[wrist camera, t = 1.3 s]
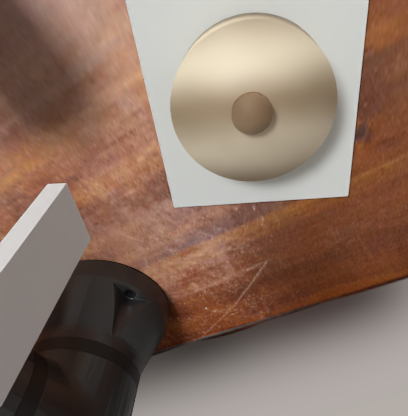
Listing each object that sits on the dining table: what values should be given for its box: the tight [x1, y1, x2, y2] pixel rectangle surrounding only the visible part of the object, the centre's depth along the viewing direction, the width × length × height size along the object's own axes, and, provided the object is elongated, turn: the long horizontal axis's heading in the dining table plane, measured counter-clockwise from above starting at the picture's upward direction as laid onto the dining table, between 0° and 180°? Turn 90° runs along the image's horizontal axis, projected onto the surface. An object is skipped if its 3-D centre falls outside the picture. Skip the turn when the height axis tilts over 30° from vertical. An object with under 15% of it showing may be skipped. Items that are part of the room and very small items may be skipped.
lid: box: [170, 12, 337, 181], centre depth 27 cm, size 12×12×4 cm
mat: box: [125, 0, 369, 208], centre depth 28 cm, size 20×16×1 cm
